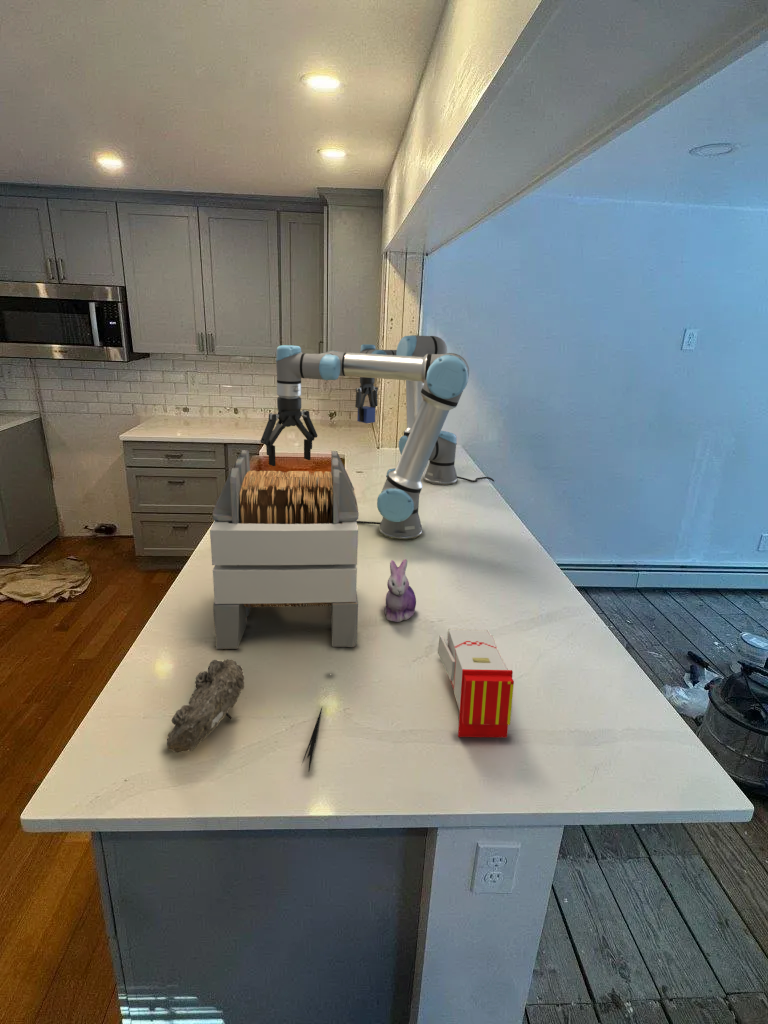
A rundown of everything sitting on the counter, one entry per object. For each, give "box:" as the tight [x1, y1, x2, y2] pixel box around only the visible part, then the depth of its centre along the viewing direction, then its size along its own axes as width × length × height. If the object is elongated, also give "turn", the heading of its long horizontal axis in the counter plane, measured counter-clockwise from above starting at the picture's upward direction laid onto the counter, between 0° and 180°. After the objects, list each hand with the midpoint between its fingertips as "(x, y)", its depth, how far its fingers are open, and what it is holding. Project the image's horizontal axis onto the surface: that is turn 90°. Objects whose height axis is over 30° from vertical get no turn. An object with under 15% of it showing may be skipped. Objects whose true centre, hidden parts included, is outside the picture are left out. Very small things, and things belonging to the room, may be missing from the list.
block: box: [356, 405, 376, 424], centre depth 297 cm, size 6×7×8 cm
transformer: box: [209, 449, 360, 651], centre depth 139 cm, size 34×33×41 cm
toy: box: [437, 628, 515, 738], centre depth 117 cm, size 12×13×30 cm
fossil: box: [166, 658, 245, 754], centre depth 106 cm, size 22×10×15 cm
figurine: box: [384, 558, 417, 623], centre depth 145 cm, size 9×10×15 cm
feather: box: [301, 673, 332, 771], centre depth 108 cm, size 2×28×2 cm
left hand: (290, 462), depth 185 cm, fingers open, 13 cm apart
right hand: (366, 420), depth 298 cm, fingers closed on block, 6 cm apart
